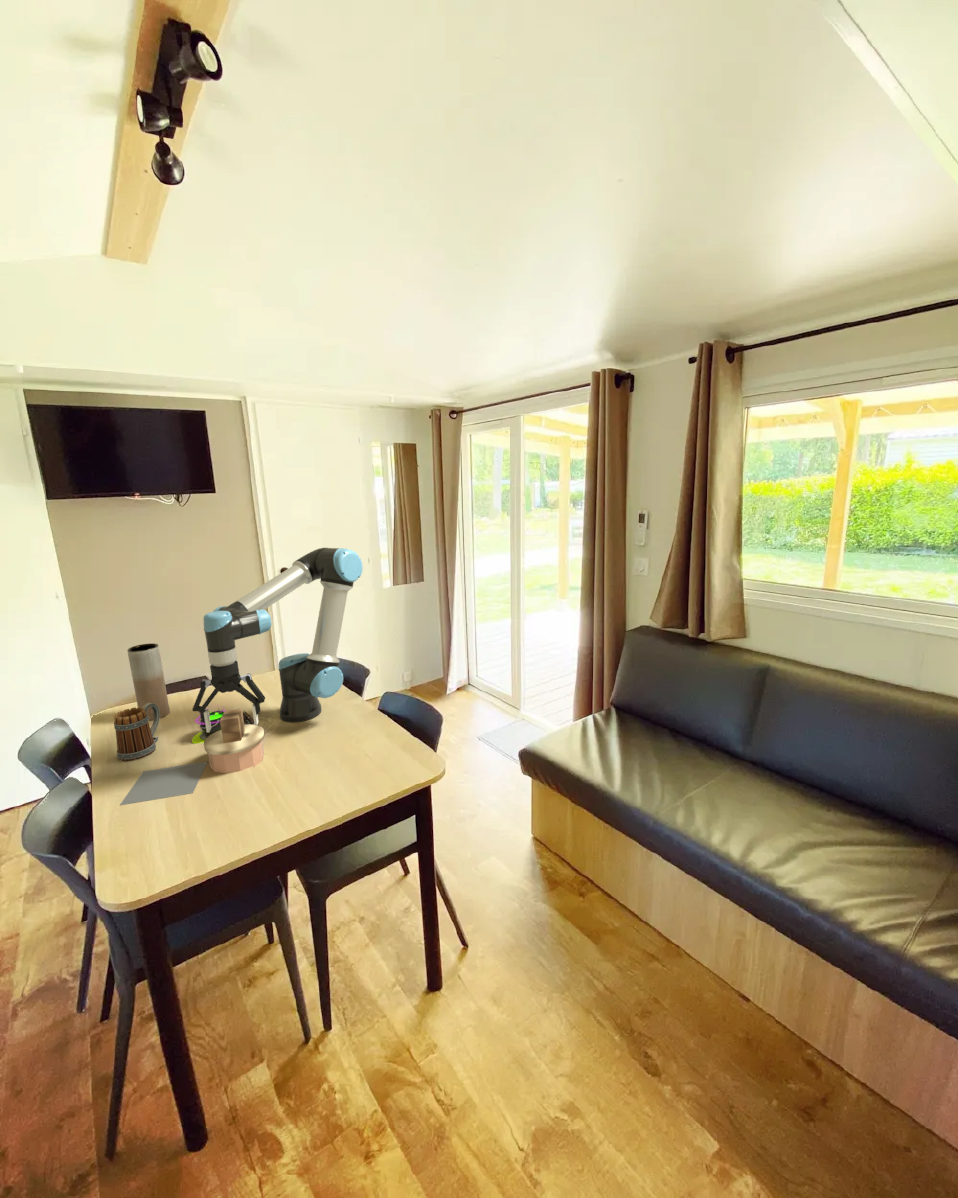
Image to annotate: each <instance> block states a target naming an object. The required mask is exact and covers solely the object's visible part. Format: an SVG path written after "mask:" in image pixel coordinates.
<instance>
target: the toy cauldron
mask: <svg viewBox="0 0 958 1198" xmlns="http://www.w3.org/2000/svg"><path fill="white" fill-rule="evenodd" d="M210 705H211V706H212V705H213V704H212V703H210ZM217 707H218V710H213V711H209V715H210V722H211V730H210V732H208V733H207V731H206V725H205V722H202V721H201V720H199V719H201V716H200V715H198V717H197V718H195V720H194V723H195V724H197V725H199V729H201V731H200V732H198V733H196V735H194V736H193V737H192V739H191V742H192V744H193V745H195V744H204V741H205V740H206V739H207V738H208V737H209V736H210V735H212V734H213V733H215V732H217V731H219V730H221V724H220V719H221V717H222V716H223V714H224V712H225V711H228V710H226V709H220V708H219V707H221V708H223V706H219V705H218V704H217V705H214V708H217ZM211 709H213V707H210V710H211ZM219 709H220V710H219Z"/></svg>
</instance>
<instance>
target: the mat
mask: <svg viewBox="0 0 958 1198" xmlns="http://www.w3.org/2000/svg"><path fill="white" fill-rule="evenodd" d="M208 763H209V760H208V761H202V762H196V763H190V764H189V763H188V764H182V765H175V766H169V767H162V768H157V769H149V770H143V771H142V773H141V774H140V776H139V777H138V778H137V780H136V781H135V782H134V784H133V785H132V787H131V788H130V789H129V791H128V792H127V794H126V795H125V797H124V799H123V800H122V801H121V802H120V804H119V806H126V805H130V804H137V803H142V802H148V801H156V800H161V799H167V798H172V797H178V796H179V797H180V796H186V795H191V794H193V793H194V791H195V790H196V787H197V785H198V783H199V781H200V779H201V777H202V775H203V773H204V771H205V769H206V767H207V764H208Z"/></svg>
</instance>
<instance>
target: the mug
mask: <svg viewBox="0 0 958 1198" xmlns="http://www.w3.org/2000/svg"><path fill="white" fill-rule="evenodd" d="M149 707H152V709H153V712H154V720H152V724H151V726H150V724H149V721H148V720H149V717H148V716H147V710H148V708H149ZM160 719H161V718H160V712H159V708H158V706H157V705H156V704H154V703H147V704H145V705H144V706H143V707H142V708H141V707H138V706H137V708H136V707H131V708H130V709H129V708H126V709H124V710H121V711H118V712H117V713H115V714H114V722H113V724H114V726H113V727H114V728H113V729H114V730H115V739H116V749H117V750H116V756H117V758H118V761H121V762H134V761H137V760H141V759H144V758H146V757H148V756H150V755H152V754H153V753H155V751H156V749H157V748H156V745H157V744H156V743H157V742H158V740H159V736H158V735H157V736H156V735H155V732H156V731H157V728H158V726H159V724H160V723H159V722H160Z"/></svg>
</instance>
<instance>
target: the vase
mask: <svg viewBox="0 0 958 1198" xmlns="http://www.w3.org/2000/svg"><path fill="white" fill-rule="evenodd" d="M159 646H160V645H159V644H158V643H143V644H138V645H137V644H136V645H134V646H131V647H128V649H127V655H128V663H129V667H130V672H131V676H132V682H133V689H134V693H135V699H136V704H137V708H138V707H141V708H142V707H143V706H144V705H145V704H147V703H154V704H156V705H157V706H158V708H159V712H160V719H161V718H165V717H166V716H168V715H169V714H170V712H171V710H170V705H169V699H168V693H167V687H166V681H165V675H164V669H163V662H162V657H161V653H160V651H161V650H160V647H159ZM147 716H148V717H149V720H148V722H149V721H153V720H154V712H153V709H152V707H149V708H148V710H147Z"/></svg>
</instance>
